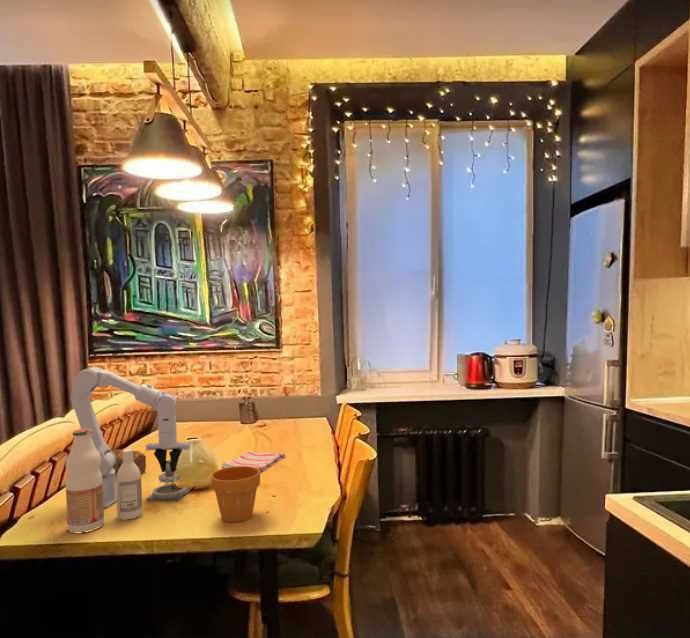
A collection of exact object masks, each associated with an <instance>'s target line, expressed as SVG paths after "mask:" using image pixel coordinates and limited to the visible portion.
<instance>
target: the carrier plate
mask: <svg viewBox="0 0 690 638" xmlns="http://www.w3.org/2000/svg"><path fill="white" fill-rule="evenodd" d="M189 491H190V489H187V488H186V487H183V488H178V487H177V486H176V484H175V483H174V482H169V483H164V484H163V485H159V486H158V487H155V488H153V489H152V492H151V494H150V495H149V496H148V497H146V500H145V501H146V502H180V501H181V500H182V499H183V498H184V497H185V496H186V495H187V494H189V493H190V492H191V491H190V492H189ZM179 500H180V501H179Z"/></svg>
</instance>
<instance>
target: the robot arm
mask: <svg viewBox="0 0 690 638" xmlns="http://www.w3.org/2000/svg"><path fill="white" fill-rule="evenodd" d="M107 386H111V387H115V388H117V389H119V390H122V391H124V392H126V393H129V394H132V395H134V399H135V400H136V401H138V402H140V403H142V404H144V405H146V406H149V407H152V408H153V409H154V408H156V411H157V416H158V418H157V426H158V427H157V428H158V442H155V443H154V442H152V443H150V442H149V443H147V444H145V451H149V452H150V451H154V452H153V456H155V458H156V460H157V462H158V464H159V467H160V470H161V473H165V461H167V453H168V451H169V450H170V451H169V453H168V454H169V458H170V460H171V471H172V472H175V471H176V472H177V467H176V466H178V462H179V459H180V457H181V454H182V451H189V450H191V442H181V441H178V440H177V439H178V435H177V432H178V431H177V416H176V414H177V413H176V409H175V408H176V407H177V399H176V397H175V396H174V395H173V394H171V393H167V392H166V391H165V390H162V391H161V390H159V389H157V388H155V387H153V385H152V384H149V383H148V384H146V383H143V384H140V385H138V384H136V383H134V382H132V381H130V380H128V379H126V378H124V377H122V376H120V375H118V374H116V373H114V372H112V371H110V370H108V369H104V368H103V369H102V368H101V367H100V366H93V365H92V366H90V367H88V368H85V369H82V370H80V371H79V372H78V374H77V375H76V376H75V378H74V379H73V385H72V390H71V393H70V401H71V403H72V404H71V405H72V407H73V410H74V412H75V415H76V418H77V422H78V423H79V427H80V429H92V435H91V438H92V441H93V443H94V445H95V447H96V449H97V451H98V452H99V454H100V456H101V464H100V471H101V473H102V480H103V508H108V507H110V506H111V505H113V504H114V503H115V502H117V492H116V476H115V470H114V468H113V466H114V465H115V463H116V456H115V454H114V453H113V452H111V450H112V449H110V446H109V445H108V443H106V441H105V439H104V436H103V433H102V430H101V427H100V424H99V422H98V420H97V419H98V418H97V417H96V414H95V411H94V408H93V405H92V401H91V399H90V397H91V395H92V394H93V393H94V390H95V389H96V388H97V387H107Z"/></svg>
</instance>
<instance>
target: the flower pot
mask: <svg viewBox="0 0 690 638" xmlns="http://www.w3.org/2000/svg"><path fill="white" fill-rule="evenodd" d="M210 479H211V481H210V484H211V489H212V491H213V492H214V493H215V497H216V501H217V504H218V505H217V506H218V510H219V513H220V517H221V520H223V521H225V522H227V523H240V522H245V521H247V520H249V519H251V518H252V516H253V512H254V507H255V504H256V503H255V501H256V496H257V491H258V487H259V486H260V485H261V472H260V470H259V469H257V468H255V467H249V466H235V467H228V468H223V469H222V468H220V469H218V470H215V471H214V472H212V473H211V475H210Z"/></svg>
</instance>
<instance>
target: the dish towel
mask: <svg viewBox="0 0 690 638" xmlns="http://www.w3.org/2000/svg"><path fill="white" fill-rule="evenodd" d="M285 456H286V454H285V452H283V453H282V452H277V453H276V452H255V451H247V452H244V453H242V454H241V455H240V456H238V457H236V458H234V459H230V460H228V461H223V462H222V464H221V469H223V468H228V467H235V466H249V467H255V468H257V469H259V470H260V473H262V472H264V471H266V470H268V469H269V468H270V467H272V466H274V465H275V464H276V463H278V462H280V461H281V460H282V459H283V458H285Z"/></svg>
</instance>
